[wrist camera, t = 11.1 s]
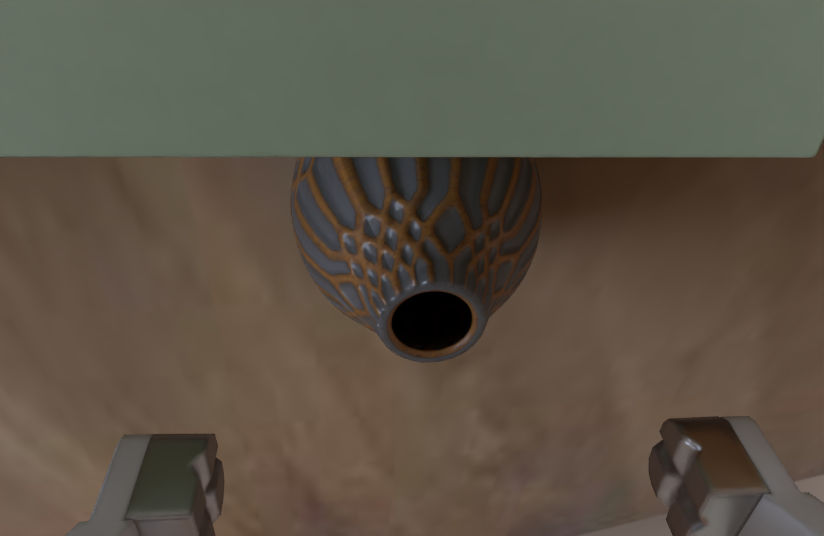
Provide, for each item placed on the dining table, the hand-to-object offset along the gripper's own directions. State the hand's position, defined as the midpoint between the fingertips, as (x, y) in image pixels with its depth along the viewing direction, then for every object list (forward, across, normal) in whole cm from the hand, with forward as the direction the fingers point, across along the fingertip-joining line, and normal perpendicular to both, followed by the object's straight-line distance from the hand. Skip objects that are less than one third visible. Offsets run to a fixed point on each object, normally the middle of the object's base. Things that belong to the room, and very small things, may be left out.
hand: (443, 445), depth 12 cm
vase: (+12, 0, 0) cm, 12 cm away
